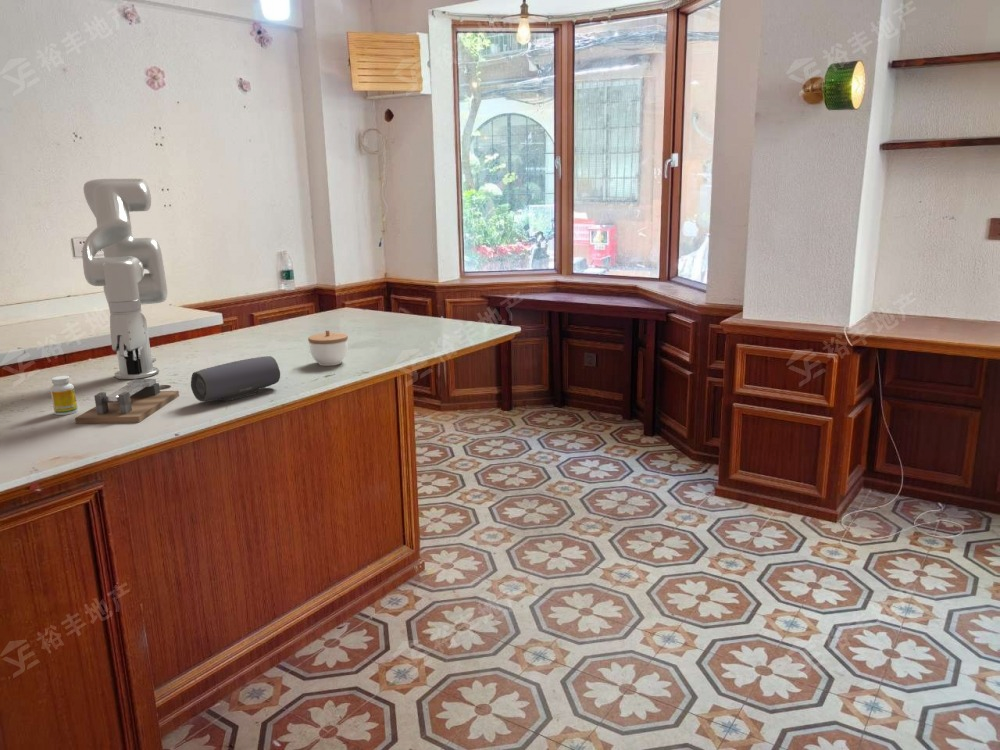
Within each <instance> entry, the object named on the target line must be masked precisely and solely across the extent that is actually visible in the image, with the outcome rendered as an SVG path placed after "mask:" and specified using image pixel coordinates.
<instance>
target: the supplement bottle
mask: <svg viewBox="0 0 1000 750" xmlns="http://www.w3.org/2000/svg"><path fill="white" fill-rule="evenodd" d="M70 382H71V379H70V376H69V375H59V376H54V377H52V378H51V384H52V386H51V387H50V395H51V402H52V405H53V406H52V407H53V412H54V414H55V415H57V416H69V415H72V414H76V413H77V412H78V409H79V408H78V403H77V397H76V391H75V385H73V384H72V383H70Z"/></svg>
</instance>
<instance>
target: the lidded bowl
mask: <svg viewBox="0 0 1000 750" xmlns="http://www.w3.org/2000/svg"><path fill="white" fill-rule="evenodd" d="M348 338H349V336H348V335H347V334H346V333H341V332H331V331H330V330H328V329H327V330H325V333H324V332H323V333H317V334H316V333H315V334H313V335H310V336H308V338H307V340H308V344H309V345H308V346H309V347H308V348H309V351H310V352H309V353H310V354H311V356H312V357H311V358H313V360H314V361H315V362H317V363H318V366H325V367H331V366H337V365H340V364H342V361H344V359H345V358H346V357H347V353H348V349H349V348H348V344H349V343H348Z"/></svg>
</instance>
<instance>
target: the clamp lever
mask: <svg viewBox="0 0 1000 750" xmlns="http://www.w3.org/2000/svg"><path fill="white" fill-rule="evenodd" d="M155 383H157V379H156V378H138V379H131V380H130V381H128V382H126V385H124V386H123V387H121V388H119V389H117V390H115V391H114V392H112V393H110V394H108V395H106V396H105V397H104V398H103V401H104V403H114V402H119V398H118V395H119V394H121V393H123V392H129V393H130V396H131V395H133V394H135V393H136V392H138V391H140V390H142V389H143V388H145V387H150V386H152V385H154V384H155Z"/></svg>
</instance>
